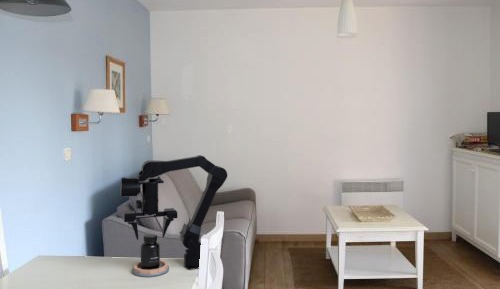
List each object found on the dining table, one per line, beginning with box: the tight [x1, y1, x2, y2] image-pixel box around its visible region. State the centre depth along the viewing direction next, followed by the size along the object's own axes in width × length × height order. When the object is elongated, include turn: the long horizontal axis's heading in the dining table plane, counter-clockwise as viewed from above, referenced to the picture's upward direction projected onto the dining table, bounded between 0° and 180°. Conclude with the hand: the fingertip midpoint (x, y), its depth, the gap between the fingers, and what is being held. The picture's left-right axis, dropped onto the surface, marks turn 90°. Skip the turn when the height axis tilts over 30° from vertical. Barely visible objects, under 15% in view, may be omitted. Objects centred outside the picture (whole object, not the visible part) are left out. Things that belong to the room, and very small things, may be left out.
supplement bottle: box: [140, 233, 161, 270], centre depth 156 cm, size 7×7×12 cm
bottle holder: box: [132, 259, 170, 278], centre depth 157 cm, size 13×13×2 cm
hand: (150, 238), depth 156 cm, fingers open, 9 cm apart
